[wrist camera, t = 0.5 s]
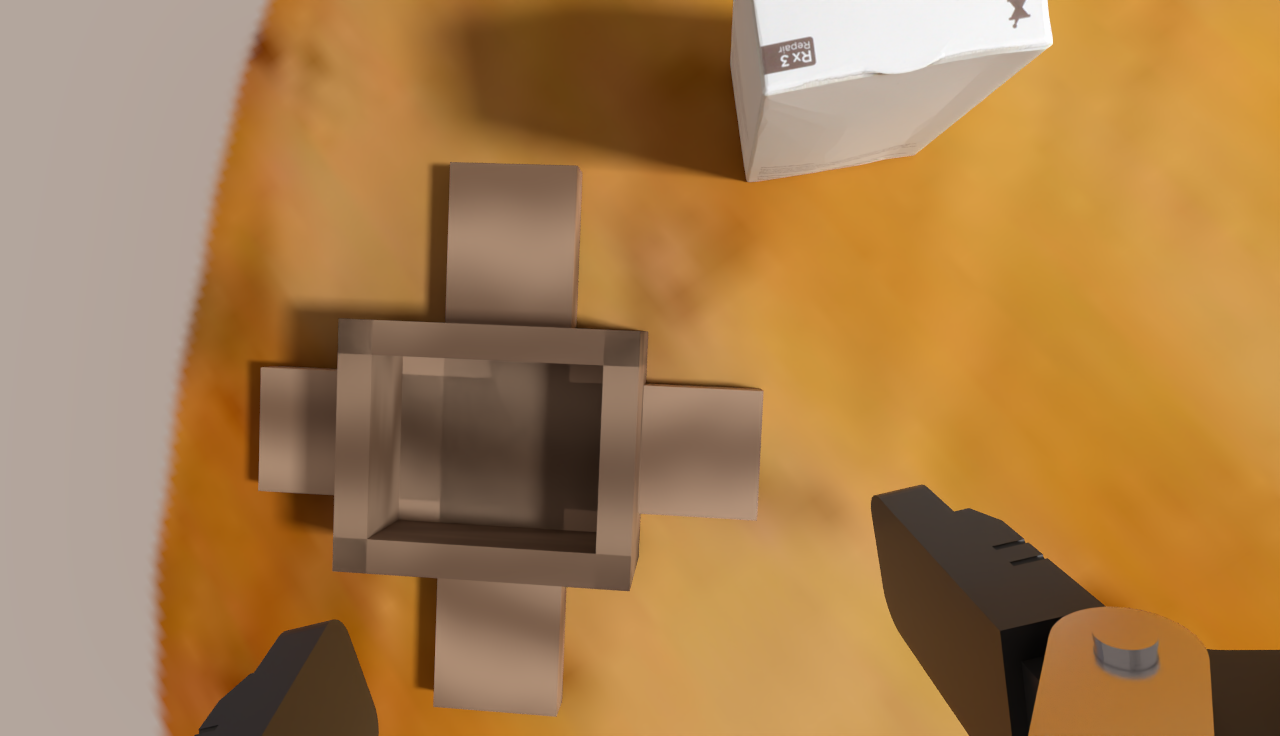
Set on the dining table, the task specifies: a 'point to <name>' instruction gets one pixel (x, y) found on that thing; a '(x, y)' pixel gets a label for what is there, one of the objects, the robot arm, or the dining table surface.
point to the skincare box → (868, 75)
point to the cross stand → (504, 442)
